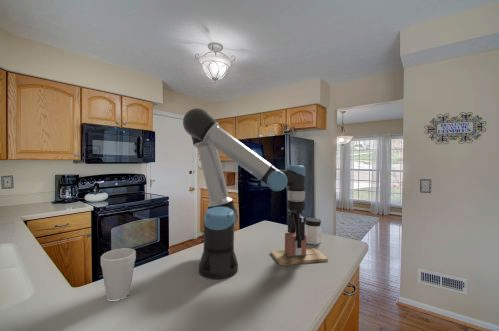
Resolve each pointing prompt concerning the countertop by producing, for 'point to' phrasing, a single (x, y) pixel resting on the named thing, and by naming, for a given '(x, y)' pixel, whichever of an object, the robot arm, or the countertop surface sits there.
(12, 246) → the countertop surface
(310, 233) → the jar
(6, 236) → the countertop surface
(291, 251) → the block
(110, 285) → the foam cup
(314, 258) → the board
